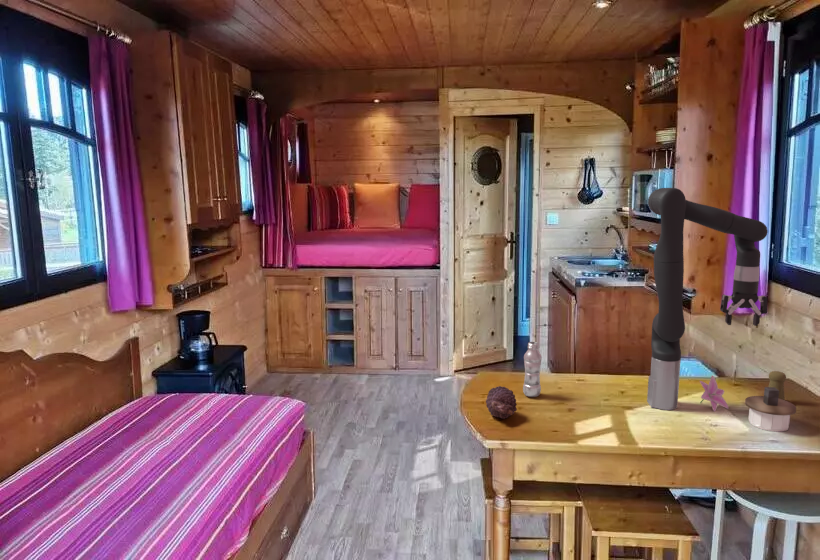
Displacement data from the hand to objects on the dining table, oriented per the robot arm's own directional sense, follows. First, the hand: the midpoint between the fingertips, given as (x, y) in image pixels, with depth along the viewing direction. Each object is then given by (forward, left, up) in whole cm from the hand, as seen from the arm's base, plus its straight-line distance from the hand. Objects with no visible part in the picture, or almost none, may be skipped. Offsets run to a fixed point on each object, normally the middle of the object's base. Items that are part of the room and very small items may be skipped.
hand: (742, 324), depth 206 cm
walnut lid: (+3, -19, -22) cm, 29 cm away
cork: (+14, +2, -28) cm, 32 cm away
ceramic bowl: (+3, -19, -28) cm, 34 cm away
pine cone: (-82, -22, -28) cm, 90 cm away
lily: (-10, -5, -28) cm, 31 cm away
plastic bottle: (-71, -2, -28) cm, 76 cm away
